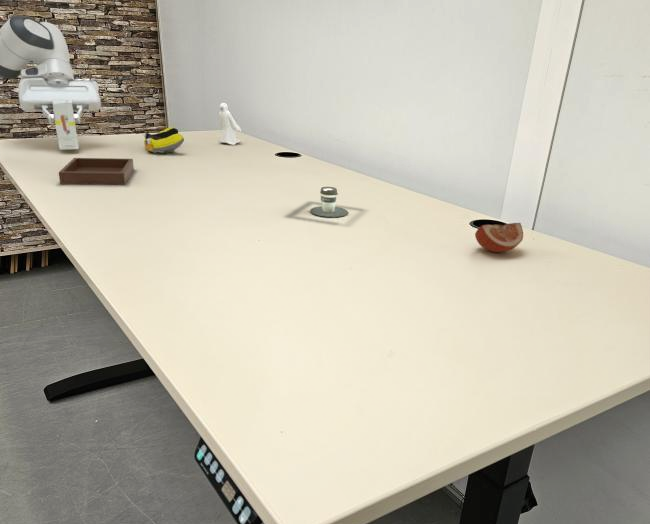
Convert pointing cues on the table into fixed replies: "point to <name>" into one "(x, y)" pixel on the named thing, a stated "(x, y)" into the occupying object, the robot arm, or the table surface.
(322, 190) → the coffee cup
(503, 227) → the fruit slice
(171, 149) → the yellow rounded piece
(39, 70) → the robot arm
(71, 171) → the tray
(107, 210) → the table surface
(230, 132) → the figurine
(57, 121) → the ink box
